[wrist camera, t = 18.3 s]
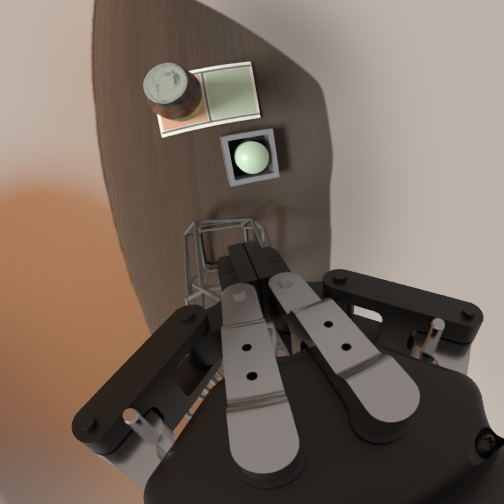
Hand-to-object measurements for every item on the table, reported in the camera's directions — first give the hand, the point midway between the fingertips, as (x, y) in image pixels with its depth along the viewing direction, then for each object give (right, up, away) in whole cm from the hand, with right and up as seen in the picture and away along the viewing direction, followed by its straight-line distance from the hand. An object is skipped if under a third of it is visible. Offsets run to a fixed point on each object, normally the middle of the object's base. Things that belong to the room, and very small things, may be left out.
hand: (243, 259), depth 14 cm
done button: (0, +16, +29) cm, 33 cm away
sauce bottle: (-11, +23, +23) cm, 34 cm away
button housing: (0, +16, +29) cm, 34 cm away
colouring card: (-7, +25, +24) cm, 35 cm away
